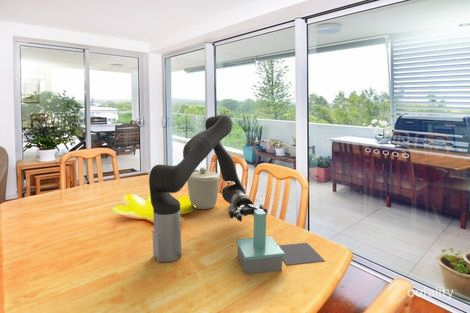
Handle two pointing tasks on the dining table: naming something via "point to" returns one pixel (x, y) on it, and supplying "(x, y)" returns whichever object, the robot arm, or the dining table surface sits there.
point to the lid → (259, 241)
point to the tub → (260, 264)
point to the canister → (203, 188)
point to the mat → (299, 254)
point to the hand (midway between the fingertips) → (252, 218)
